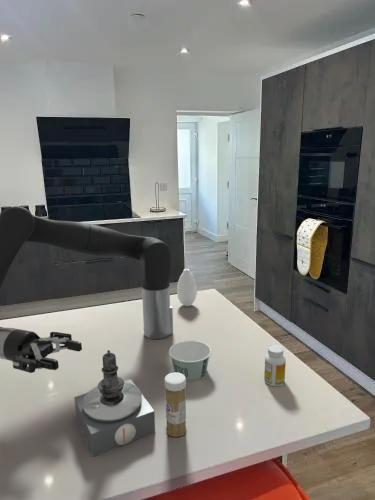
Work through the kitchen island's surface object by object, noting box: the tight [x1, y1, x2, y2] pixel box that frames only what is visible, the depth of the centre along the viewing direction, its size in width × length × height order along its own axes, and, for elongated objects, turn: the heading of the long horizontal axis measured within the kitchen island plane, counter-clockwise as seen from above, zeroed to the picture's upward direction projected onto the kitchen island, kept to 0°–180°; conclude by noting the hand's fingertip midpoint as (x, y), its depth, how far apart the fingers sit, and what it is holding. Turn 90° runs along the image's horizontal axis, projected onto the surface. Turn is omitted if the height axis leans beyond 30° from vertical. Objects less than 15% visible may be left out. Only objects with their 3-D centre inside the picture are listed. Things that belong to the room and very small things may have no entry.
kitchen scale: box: [73, 379, 156, 457], centre depth 86 cm, size 14×15×5 cm
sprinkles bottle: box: [164, 372, 187, 438], centre depth 83 cm, size 5×5×13 cm
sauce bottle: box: [176, 263, 198, 307], centre depth 152 cm, size 8×8×18 cm
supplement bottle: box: [263, 344, 286, 387], centre depth 101 cm, size 5×5×10 cm
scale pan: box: [83, 382, 143, 423], centre depth 85 cm, size 13×13×3 cm
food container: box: [168, 340, 212, 381], centre depth 107 cm, size 12×12×7 cm
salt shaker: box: [97, 349, 125, 406], centre depth 84 cm, size 6×6×12 cm
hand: (69, 355), depth 87 cm, fingers open, 8 cm apart
